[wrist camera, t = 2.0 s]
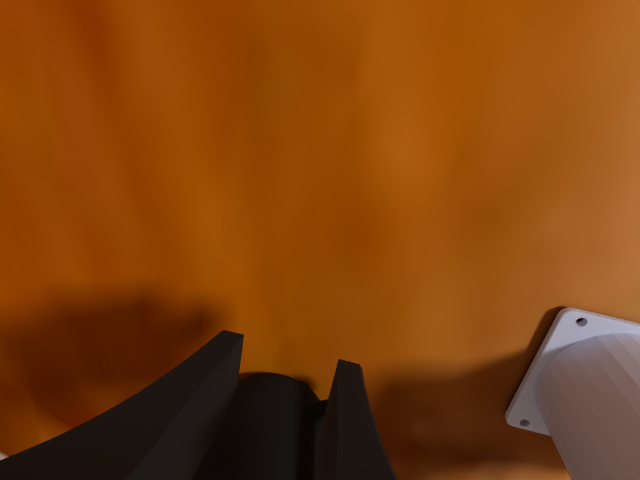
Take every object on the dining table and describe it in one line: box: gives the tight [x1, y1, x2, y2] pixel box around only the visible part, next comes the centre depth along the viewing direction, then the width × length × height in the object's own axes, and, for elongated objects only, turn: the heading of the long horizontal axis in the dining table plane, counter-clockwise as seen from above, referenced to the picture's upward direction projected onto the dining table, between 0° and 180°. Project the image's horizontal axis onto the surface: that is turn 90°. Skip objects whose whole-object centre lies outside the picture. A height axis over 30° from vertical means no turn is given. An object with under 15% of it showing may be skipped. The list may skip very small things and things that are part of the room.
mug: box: [192, 374, 328, 480], centre depth 20 cm, size 12×9×10 cm
